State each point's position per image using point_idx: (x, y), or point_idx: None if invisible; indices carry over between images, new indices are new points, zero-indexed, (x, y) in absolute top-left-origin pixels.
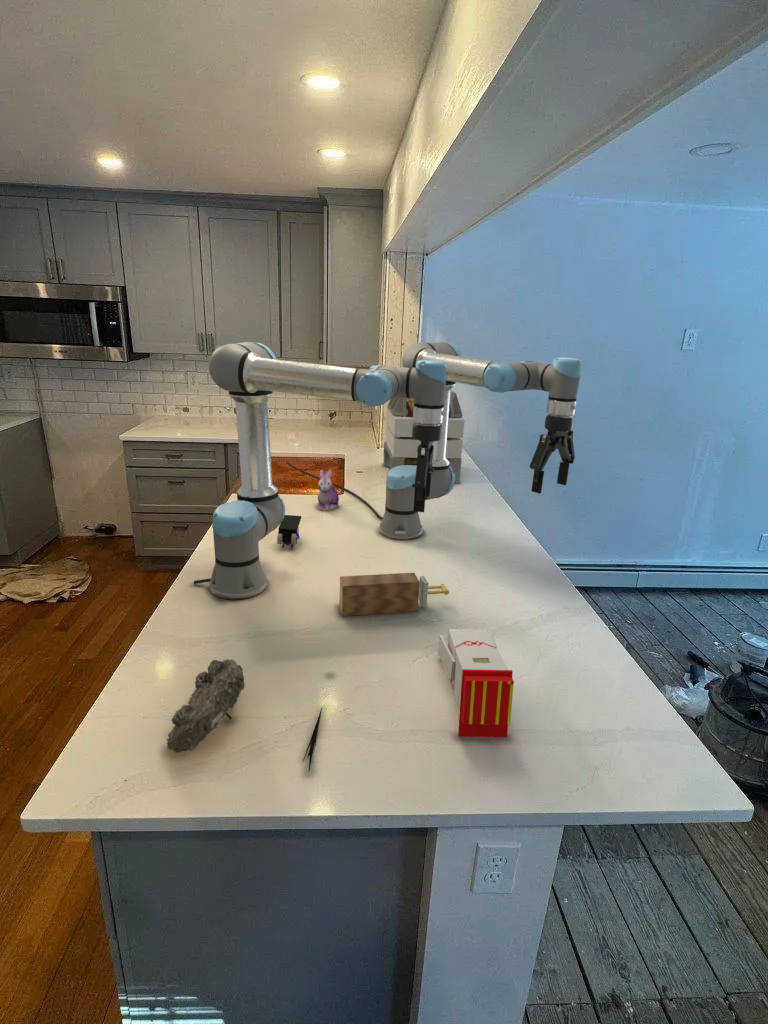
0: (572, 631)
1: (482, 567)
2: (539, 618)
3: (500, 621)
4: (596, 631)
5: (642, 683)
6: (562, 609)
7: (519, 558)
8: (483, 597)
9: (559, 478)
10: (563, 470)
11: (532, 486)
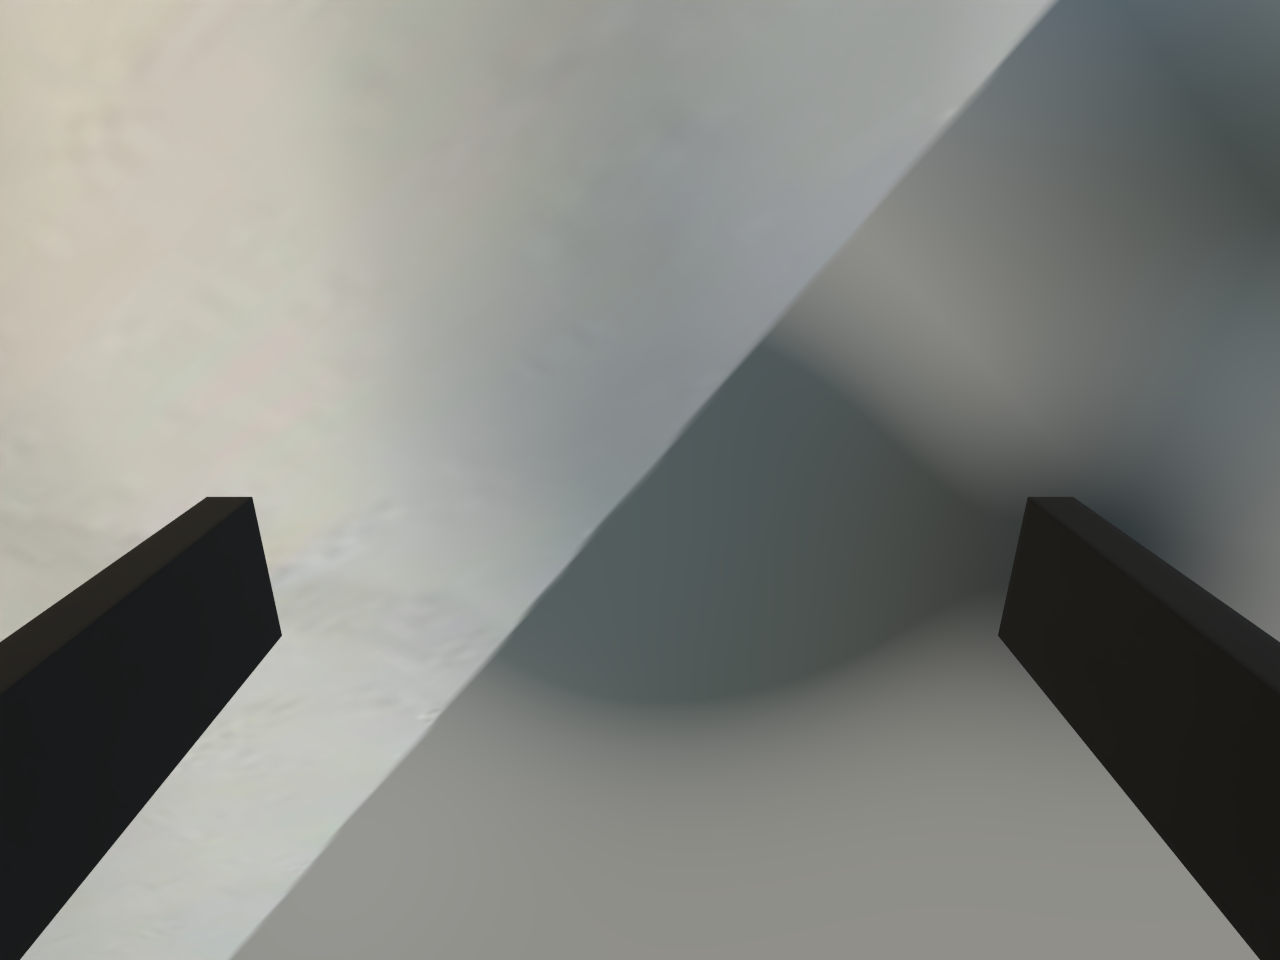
0: (300, 700)
1: (422, 27)
2: None
3: (76, 494)
4: (383, 748)
5: (250, 927)
6: (412, 599)
7: (750, 107)
8: (150, 302)
9: (1076, 579)
10: (1187, 757)
11: (154, 544)
